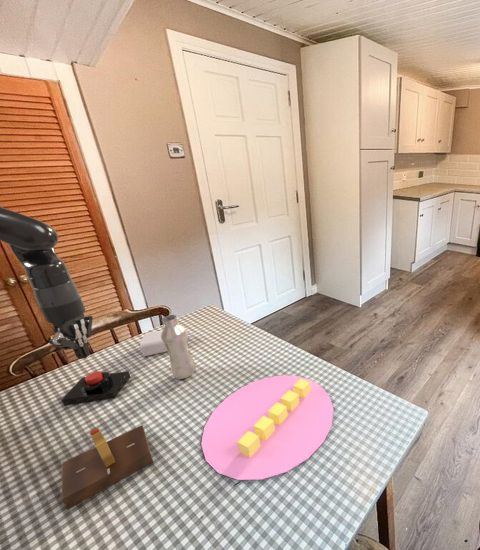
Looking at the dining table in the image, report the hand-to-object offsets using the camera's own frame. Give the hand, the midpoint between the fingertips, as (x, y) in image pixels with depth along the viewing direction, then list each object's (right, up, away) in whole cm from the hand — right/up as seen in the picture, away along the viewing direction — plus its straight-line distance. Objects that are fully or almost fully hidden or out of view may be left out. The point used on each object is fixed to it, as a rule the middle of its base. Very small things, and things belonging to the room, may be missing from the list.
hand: (84, 356), depth 82 cm
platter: (+52, -15, -4) cm, 54 cm away
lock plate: (+21, -20, -16) cm, 33 cm away
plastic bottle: (+21, -9, +11) cm, 25 cm away
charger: (+7, -3, +25) cm, 27 cm away
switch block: (0, -11, +5) cm, 12 cm away
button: (0, -8, +4) cm, 9 cm away
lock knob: (+21, -17, -17) cm, 32 cm away
